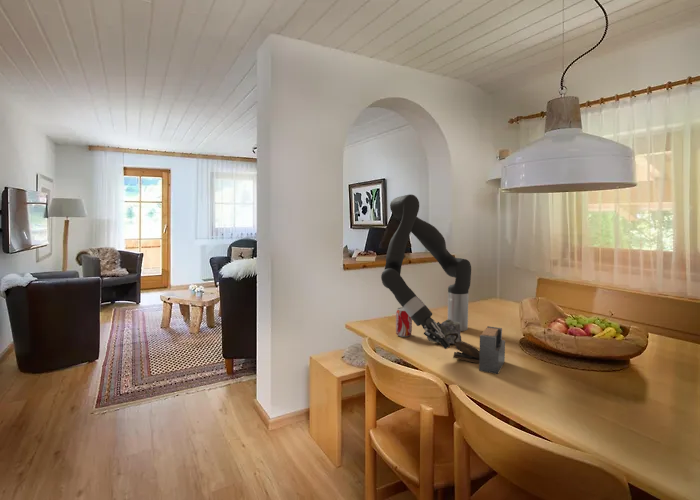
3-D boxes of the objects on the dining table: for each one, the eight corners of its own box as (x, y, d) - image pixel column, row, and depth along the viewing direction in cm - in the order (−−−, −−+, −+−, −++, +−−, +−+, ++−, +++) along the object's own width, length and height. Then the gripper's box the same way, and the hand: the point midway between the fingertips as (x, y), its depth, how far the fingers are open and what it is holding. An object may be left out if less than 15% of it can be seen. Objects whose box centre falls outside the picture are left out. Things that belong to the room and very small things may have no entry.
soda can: (406, 338, 171) (407, 311, 169) (392, 335, 175) (392, 309, 174) (414, 334, 176) (414, 308, 175) (400, 332, 180) (400, 306, 179)
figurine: (441, 355, 146) (444, 332, 145) (442, 351, 150) (445, 329, 149) (480, 364, 141) (484, 340, 140) (481, 359, 145) (484, 337, 144)
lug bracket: (486, 358, 146) (487, 326, 145) (504, 361, 143) (505, 328, 142) (479, 370, 135) (479, 335, 134) (498, 374, 132) (499, 338, 131)
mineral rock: (425, 343, 164) (426, 319, 163) (434, 336, 173) (435, 314, 173) (456, 348, 158) (457, 324, 157) (464, 341, 167) (464, 318, 166)
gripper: (417, 308, 145) (449, 346, 139) (430, 301, 156) (460, 336, 151) (404, 320, 148) (435, 358, 143) (417, 313, 159) (446, 347, 154)
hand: (447, 347), depth 147 cm, fingers closed
